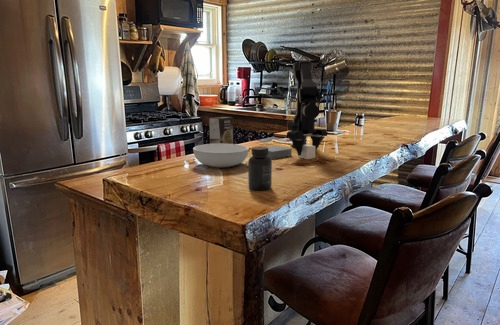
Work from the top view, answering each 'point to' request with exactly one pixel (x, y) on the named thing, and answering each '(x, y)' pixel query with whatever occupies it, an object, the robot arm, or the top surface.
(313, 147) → the cream cube
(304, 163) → the top surface
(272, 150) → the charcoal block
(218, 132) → the coffee box
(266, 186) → the supplement bottle
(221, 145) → the serving bowl
